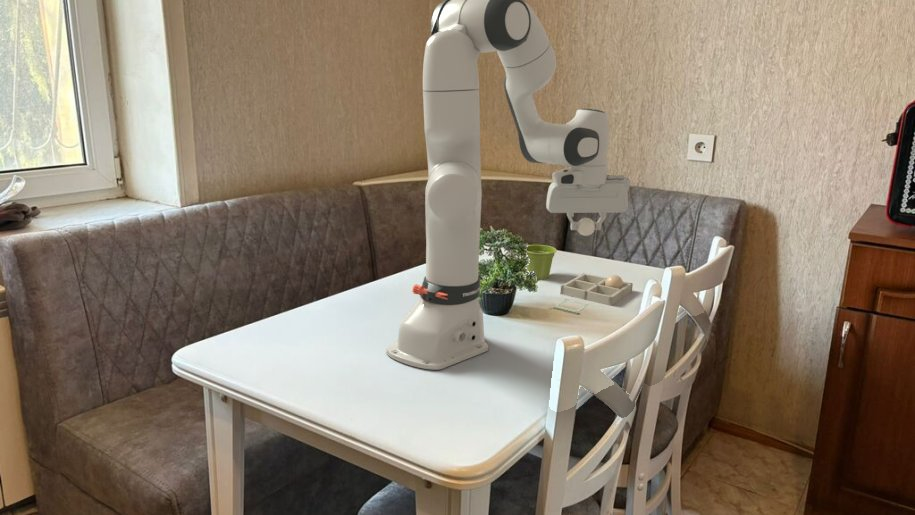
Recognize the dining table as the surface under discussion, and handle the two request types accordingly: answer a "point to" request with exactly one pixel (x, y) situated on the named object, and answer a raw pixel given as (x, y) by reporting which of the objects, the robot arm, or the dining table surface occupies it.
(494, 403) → the dining table surface
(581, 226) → the off-white ball
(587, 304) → the glass coaster
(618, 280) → the brown egg
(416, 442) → the dining table surface
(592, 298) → the egg tray
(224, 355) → the dining table surface
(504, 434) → the dining table surface
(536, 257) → the plant pot
